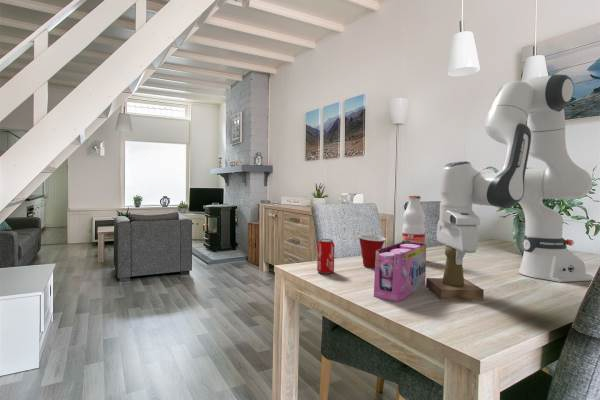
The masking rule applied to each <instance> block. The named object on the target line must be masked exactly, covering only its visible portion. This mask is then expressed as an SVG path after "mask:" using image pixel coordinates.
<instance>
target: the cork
mask: <svg viewBox="0 0 600 400" xmlns="http://www.w3.org/2000/svg"><path fill="white" fill-rule="evenodd" d="M444 255H445V257H446V259H445V260H446V261H445V265H444V271H443V277H442V278H443V283H445V284H448V285H453V286H462V285H464V279H465V277H464V276H465V275H464V268H463V264H462V265H457V264H455V263H454V258H456V249H454V248H452V247H450V246H449V247H447V248H446V249H445V248H444Z"/></svg>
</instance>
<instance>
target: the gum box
mask: <svg viewBox="0 0 600 400" xmlns="http://www.w3.org/2000/svg"><path fill="white" fill-rule="evenodd" d="M426 263H427V243H425V244H423V243H414V242H402V241H401V242H398V243H395V244H392V245H389V246H386V247H382V249H379V250H376V259H375V268H374V283H373V297H376V298H381V299H385V300H389V301H393V302H398V303H399V302H400V301H402V300H404V299H406V298H407V297H408V296H410V295H411V294H413V293H414V292H416V291H418V290H419V289H421V288H422V287H424V286H426V278H427V277H426V276H427V275H426V274H427V273H426V272H427V271H426V270H427V268H426V267H427V264H426Z"/></svg>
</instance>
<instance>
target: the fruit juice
mask: <svg viewBox="0 0 600 400" xmlns="http://www.w3.org/2000/svg"><path fill="white" fill-rule="evenodd" d="M408 200H409V201H408V204H407V206H406V207H405V208H406V209H405V210H404V213H403V214H402V219H403V225H402V230H401V232H402V235H401V242H414V243H423V244H426V225H425V220H426V213H425V212H424V210H423V208H422V204H421V195H408Z"/></svg>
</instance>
